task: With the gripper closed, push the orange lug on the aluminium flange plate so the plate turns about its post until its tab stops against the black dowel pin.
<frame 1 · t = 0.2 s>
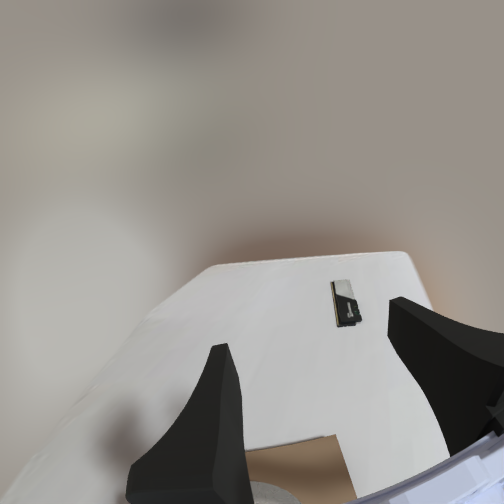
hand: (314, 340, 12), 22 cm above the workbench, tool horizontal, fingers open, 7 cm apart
computer memory module: (345, 304, 53), on the workbench
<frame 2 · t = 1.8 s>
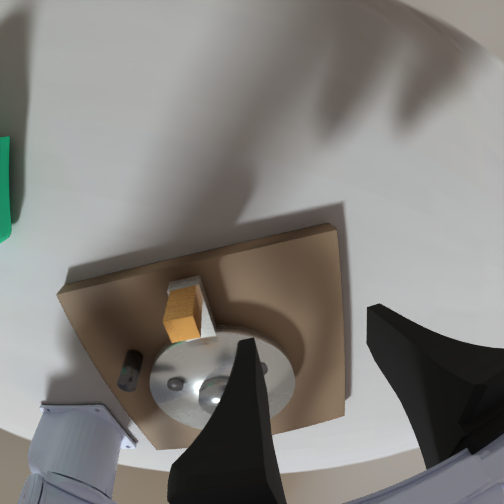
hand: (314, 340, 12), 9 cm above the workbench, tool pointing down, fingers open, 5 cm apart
fixture board: (221, 364, 24), on the workbench
dowel pin: (138, 344, 23), resting on fixture board
flange plate: (216, 383, 20), point 4 cm above the workbench, hinge at 0.0°
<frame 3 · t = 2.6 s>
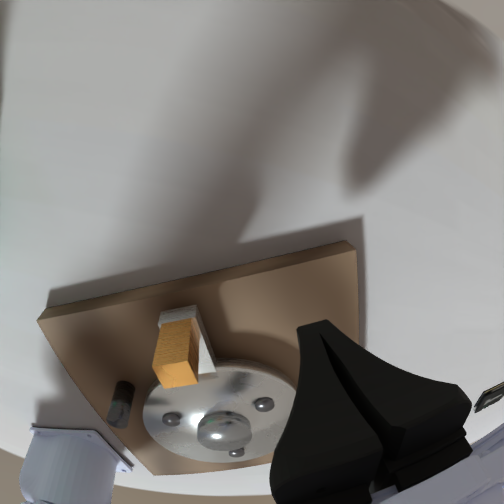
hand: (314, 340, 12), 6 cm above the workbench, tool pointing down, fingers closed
computer memory module: (503, 385, 31), on the workbench
fixture board: (221, 393, 21), on the workbench
dowel pin: (129, 372, 20), resting on fixture board
flange plate: (216, 420, 17), point 4 cm above the workbench, hinge at 0.0°
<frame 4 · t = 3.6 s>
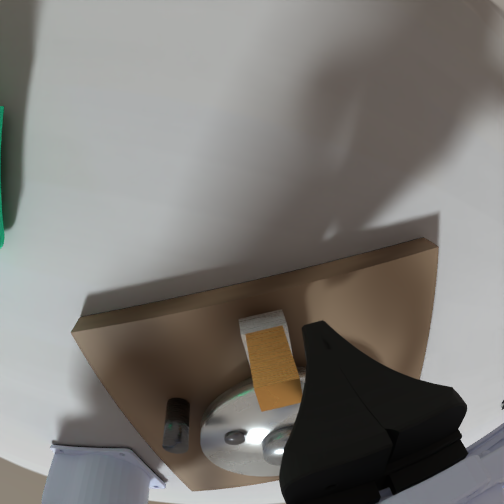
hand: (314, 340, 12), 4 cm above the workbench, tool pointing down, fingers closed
fixture board: (281, 403, 19), on the workbench
dowel pin: (179, 387, 18), resting on fixture board
flange plate: (289, 435, 15), point 4 cm above the workbench, hinge at 0.1°, touching gripper
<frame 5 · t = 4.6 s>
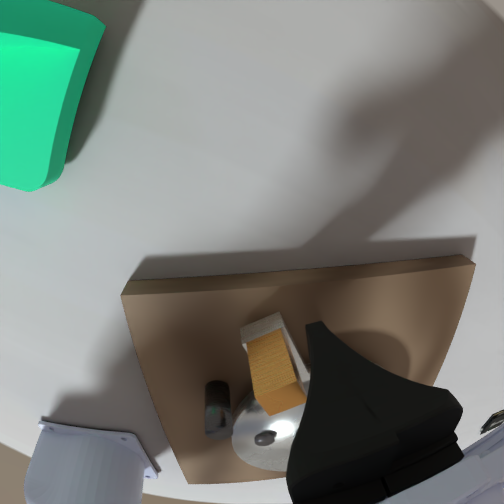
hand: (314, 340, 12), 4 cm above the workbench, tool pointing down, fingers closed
fixture board: (308, 397, 19), on the workbench
dowel pin: (216, 370, 18), resting on fixture board
camera mount: (2, 95, 10), on the workbench
flange plate: (315, 429, 15), point 4 cm above the workbench, hinge at 22.9°, touching gripper
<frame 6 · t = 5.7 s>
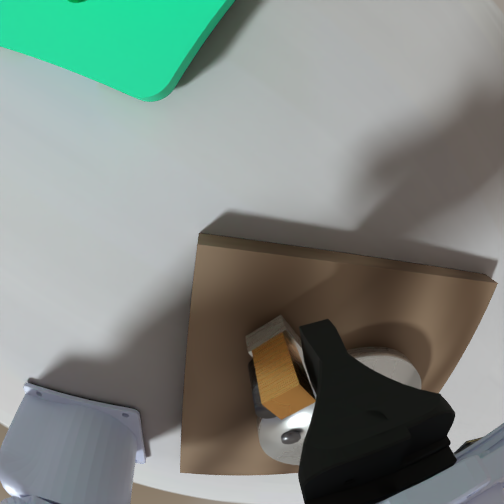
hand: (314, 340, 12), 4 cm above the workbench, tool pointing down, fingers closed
computer memory module: (475, 442, 34), on the workbench
fixture board: (331, 389, 20), on the workbench
dowel pin: (257, 348, 17), resting on fixture board
camera mount: (106, 3, 10), on the workbench
flange plate: (338, 422, 15), point 4 cm above the workbench, hinge at 45.0°, touching dowel pin, gripper
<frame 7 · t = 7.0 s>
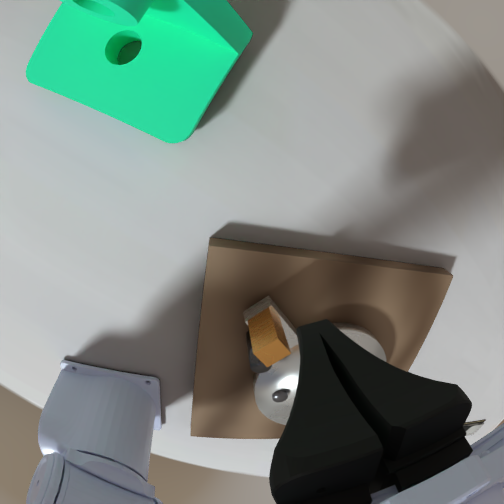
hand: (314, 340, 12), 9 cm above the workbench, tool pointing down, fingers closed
computer memory module: (460, 427, 39), on the workbench
fixture board: (313, 361, 25), on the workbench
dowel pin: (253, 323, 23), resting on fixture board
camera mount: (135, 57, 15), on the workbench
flange plate: (316, 382, 21), point 4 cm above the workbench, hinge at 44.9°
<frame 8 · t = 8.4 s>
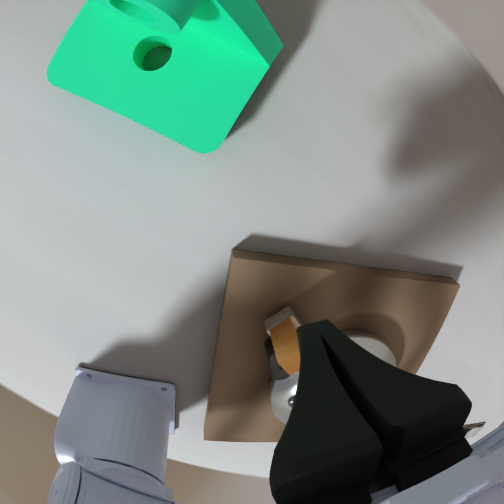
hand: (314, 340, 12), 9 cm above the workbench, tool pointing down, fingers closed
computer memory module: (461, 429, 40), on the workbench
fixture board: (326, 366, 26), on the workbench
dowel pin: (270, 331, 24), resting on fixture board
camera mount: (160, 63, 16), on the workbench
flange plate: (330, 387, 21), point 4 cm above the workbench, hinge at 44.9°
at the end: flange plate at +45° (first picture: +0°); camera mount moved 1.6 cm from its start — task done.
